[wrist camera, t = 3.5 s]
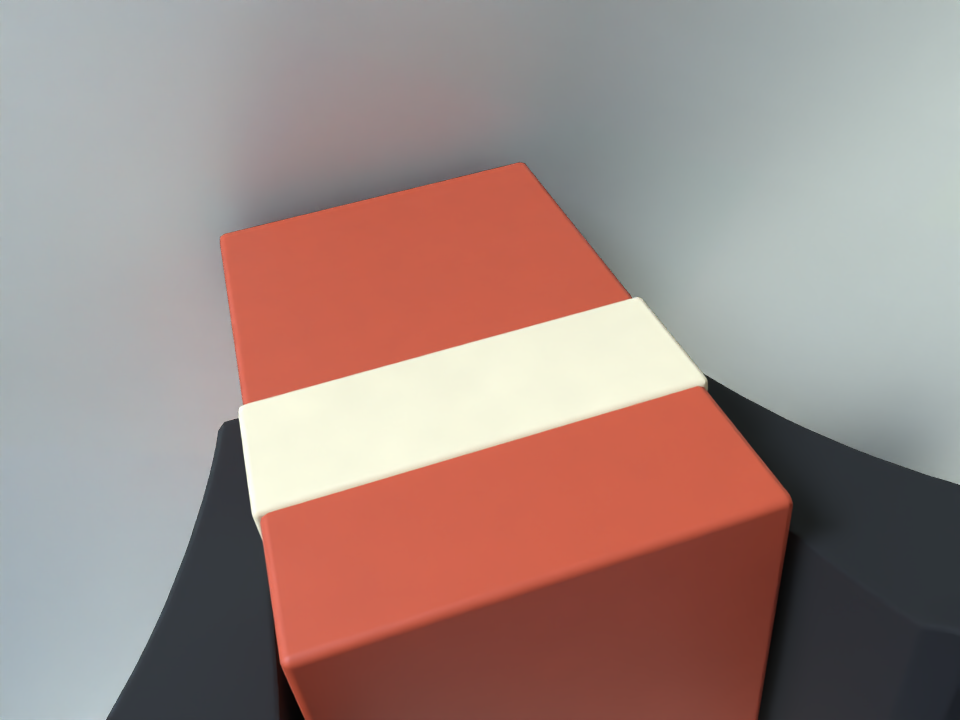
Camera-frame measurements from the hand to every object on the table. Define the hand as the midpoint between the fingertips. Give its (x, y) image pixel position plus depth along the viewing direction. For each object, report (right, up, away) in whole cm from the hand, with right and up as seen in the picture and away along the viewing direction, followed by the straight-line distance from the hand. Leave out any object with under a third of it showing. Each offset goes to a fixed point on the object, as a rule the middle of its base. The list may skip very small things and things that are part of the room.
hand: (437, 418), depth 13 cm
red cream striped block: (-1, +1, +1) cm, 2 cm away
